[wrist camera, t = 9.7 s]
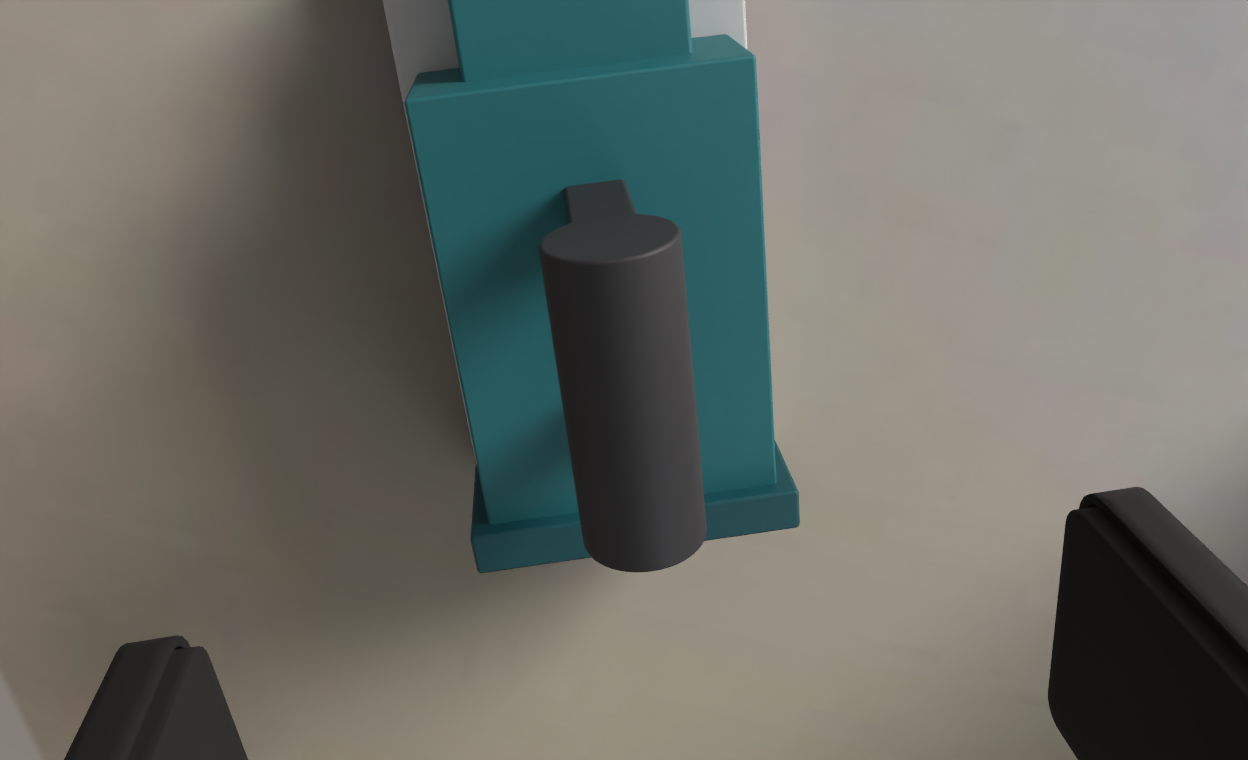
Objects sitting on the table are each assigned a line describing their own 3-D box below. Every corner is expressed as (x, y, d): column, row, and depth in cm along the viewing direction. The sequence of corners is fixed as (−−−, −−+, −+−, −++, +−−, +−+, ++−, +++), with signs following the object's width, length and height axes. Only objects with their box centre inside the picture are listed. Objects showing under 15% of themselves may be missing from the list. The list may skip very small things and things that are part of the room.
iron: (372, -77, 20) (284, -46, 13) (730, -121, 21) (859, -116, 13) (482, 477, 26) (469, 731, 19) (761, 437, 27) (863, 672, 19)
